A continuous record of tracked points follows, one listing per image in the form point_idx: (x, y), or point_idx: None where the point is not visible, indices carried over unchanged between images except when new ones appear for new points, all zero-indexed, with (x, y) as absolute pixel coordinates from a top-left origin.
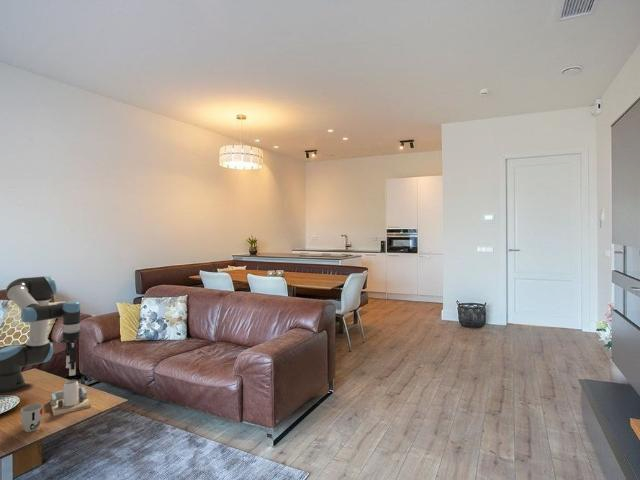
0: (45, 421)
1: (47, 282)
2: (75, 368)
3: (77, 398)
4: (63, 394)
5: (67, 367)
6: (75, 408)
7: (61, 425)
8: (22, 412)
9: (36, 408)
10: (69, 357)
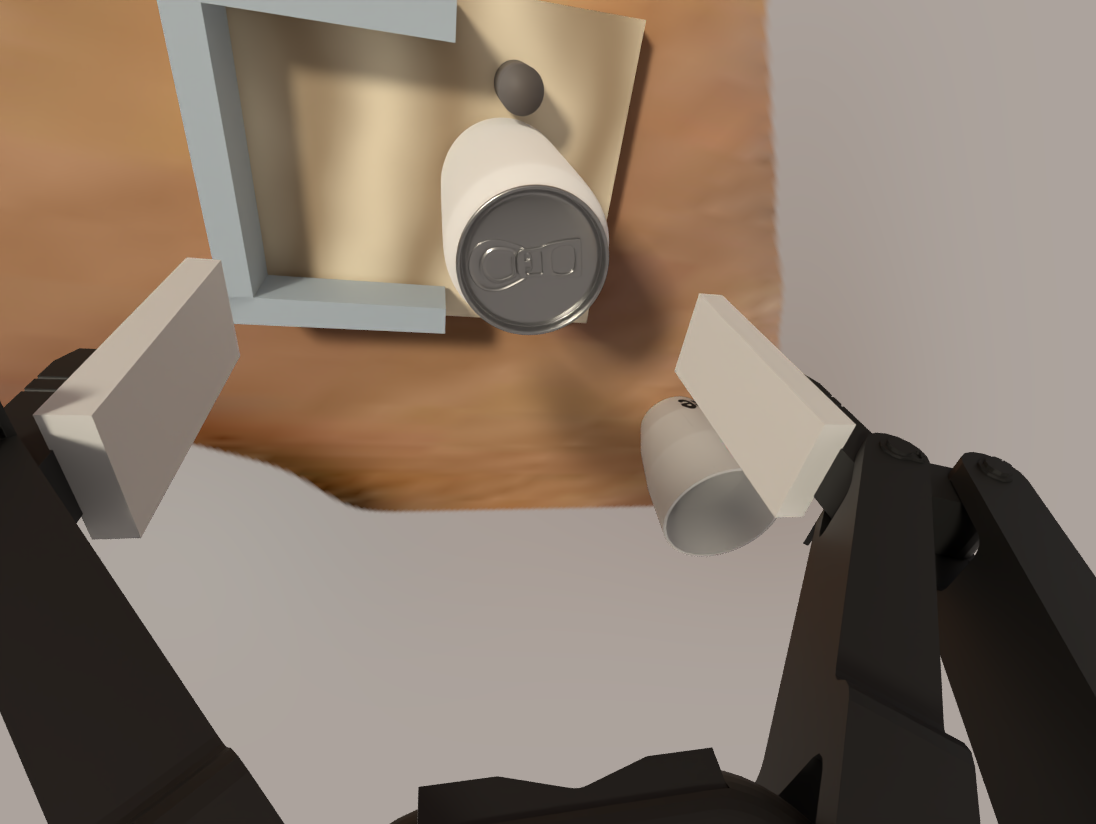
0: (630, 360)
1: None
2: (778, 351)
3: (551, 143)
4: (250, 207)
5: (234, 341)
6: (615, 168)
7: (772, 296)
8: (731, 544)
9: (673, 471)
10: (139, 442)
